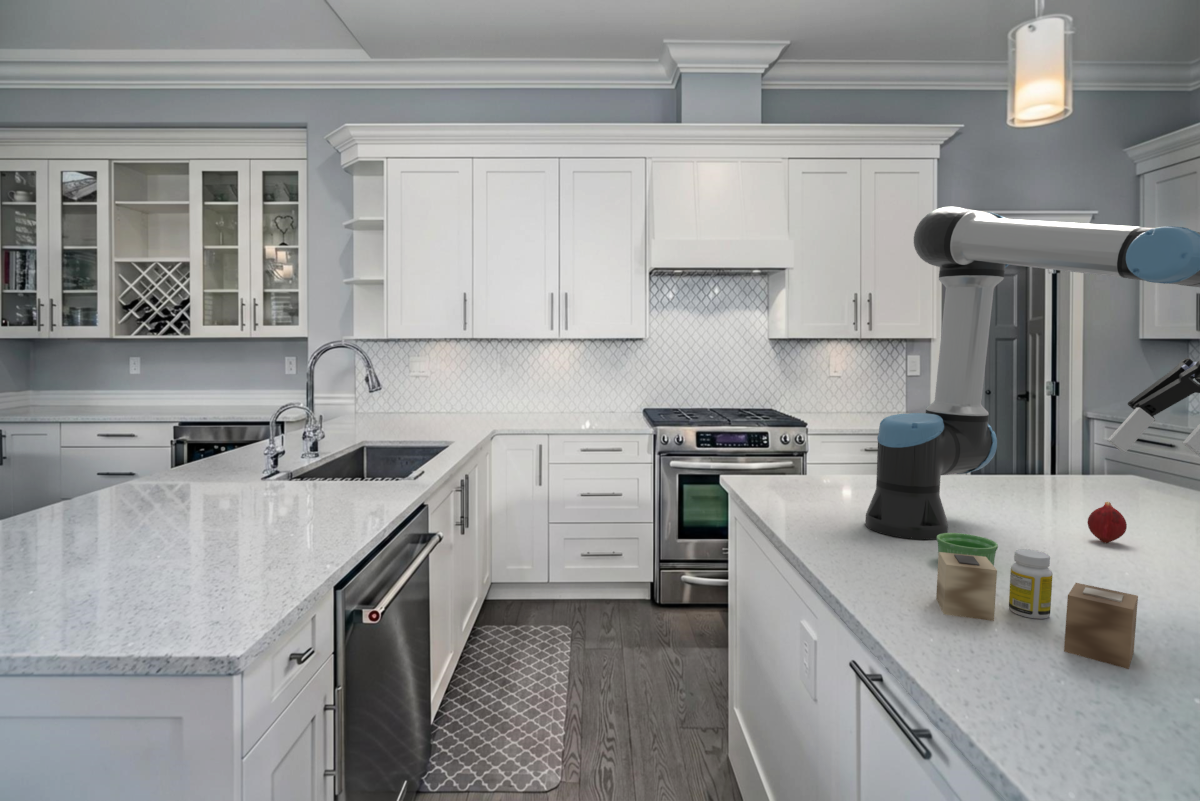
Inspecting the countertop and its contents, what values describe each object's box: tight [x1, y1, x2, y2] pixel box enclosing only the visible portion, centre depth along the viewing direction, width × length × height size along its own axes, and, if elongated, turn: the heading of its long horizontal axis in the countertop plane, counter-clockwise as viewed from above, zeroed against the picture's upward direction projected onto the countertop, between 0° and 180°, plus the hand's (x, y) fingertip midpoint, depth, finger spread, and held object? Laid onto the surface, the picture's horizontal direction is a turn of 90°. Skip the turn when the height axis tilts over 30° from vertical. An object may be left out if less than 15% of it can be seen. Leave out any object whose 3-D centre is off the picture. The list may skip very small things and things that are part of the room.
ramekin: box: [936, 532, 999, 567], centre depth 107 cm, size 9×9×4 cm
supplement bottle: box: [1008, 548, 1053, 620], centre depth 87 cm, size 5×5×8 cm
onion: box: [1087, 501, 1128, 544], centre depth 120 cm, size 6×6×8 cm
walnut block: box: [1063, 582, 1139, 670], centre depth 75 cm, size 6×6×7 cm
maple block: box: [935, 552, 998, 622], centre depth 88 cm, size 6×6×7 cm
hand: (1151, 448), depth 88 cm, fingers open, 13 cm apart
